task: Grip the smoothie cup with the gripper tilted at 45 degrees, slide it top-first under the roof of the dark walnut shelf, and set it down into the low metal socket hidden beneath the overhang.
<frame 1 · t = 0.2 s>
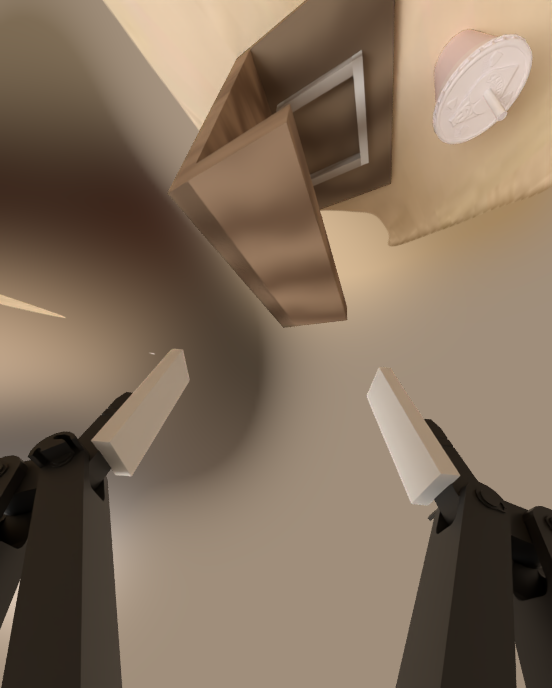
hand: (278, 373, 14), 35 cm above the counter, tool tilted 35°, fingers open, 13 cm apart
overhang shelf: (325, 128, 29), on the counter
smoothie: (454, 59, 22), on the counter
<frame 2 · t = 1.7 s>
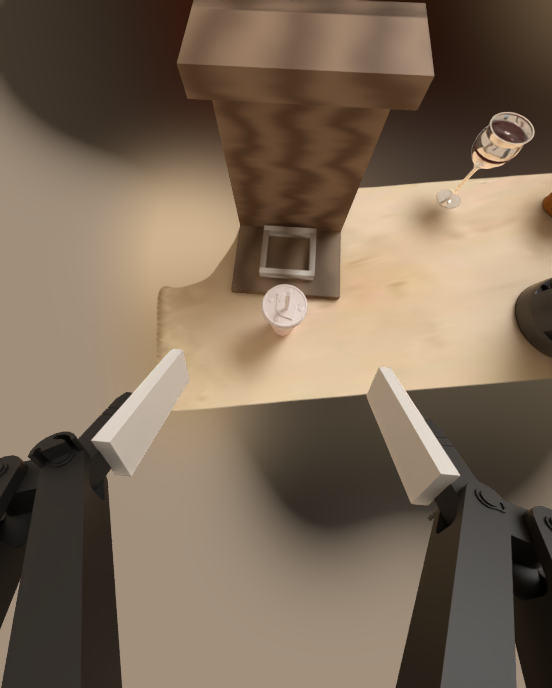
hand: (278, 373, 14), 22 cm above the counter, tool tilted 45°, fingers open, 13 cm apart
wineglass: (448, 199, 44), on the counter
overhang shelf: (287, 258, 41), on the counter
smoothie: (282, 326, 38), on the counter
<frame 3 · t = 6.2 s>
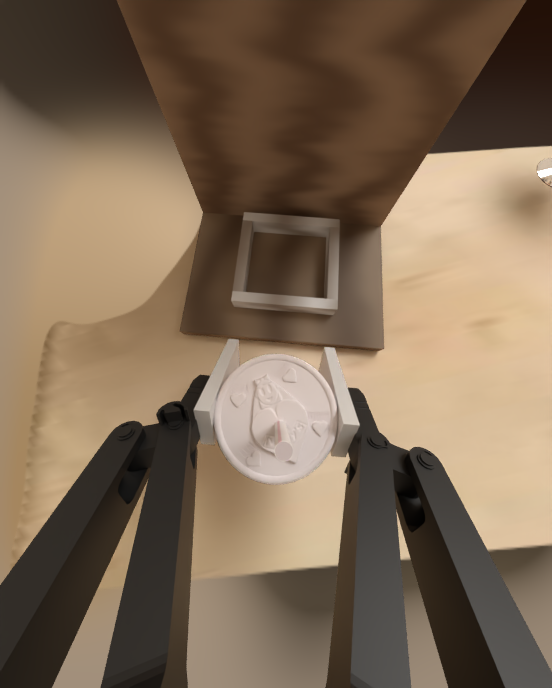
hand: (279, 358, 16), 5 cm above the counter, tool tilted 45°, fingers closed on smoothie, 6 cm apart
overhang shelf: (286, 272, 23), on the counter
smoothie: (275, 402, 20), on the counter, touching gripper
when the fingers open (7 cm above the counter, at t = 10.8 s): smoothie stays where it is, resting on overhang shelf.
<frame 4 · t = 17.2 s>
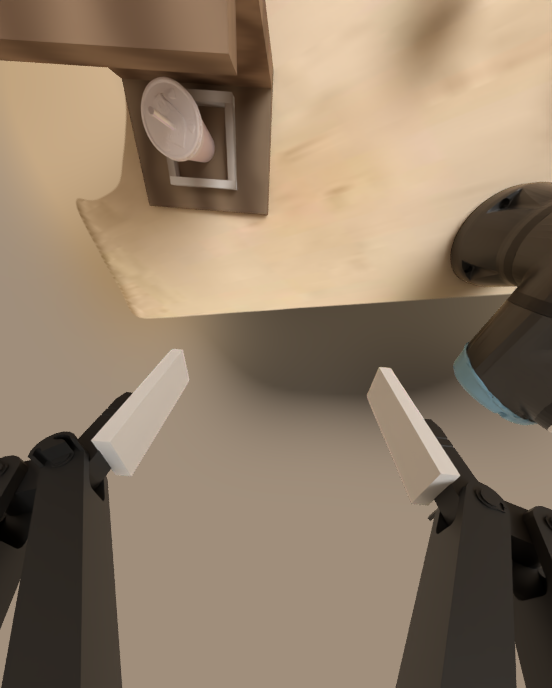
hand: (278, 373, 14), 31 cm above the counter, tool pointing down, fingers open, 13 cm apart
overhang shelf: (204, 147, 31), on the counter
smoothie: (202, 146, 31), point 1 cm above the counter, touching overhang shelf
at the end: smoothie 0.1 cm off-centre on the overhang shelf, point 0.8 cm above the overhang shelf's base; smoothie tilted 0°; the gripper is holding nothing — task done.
